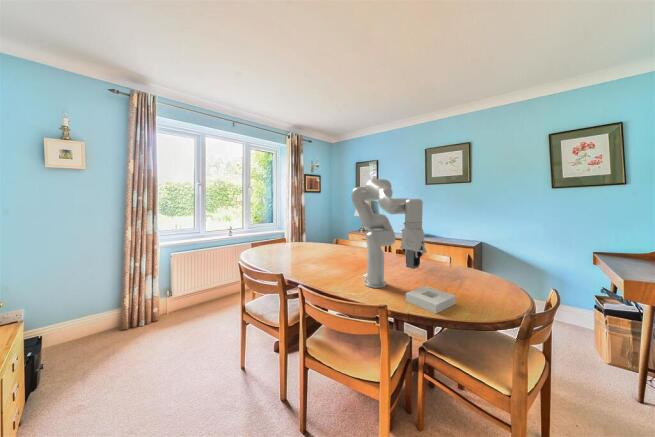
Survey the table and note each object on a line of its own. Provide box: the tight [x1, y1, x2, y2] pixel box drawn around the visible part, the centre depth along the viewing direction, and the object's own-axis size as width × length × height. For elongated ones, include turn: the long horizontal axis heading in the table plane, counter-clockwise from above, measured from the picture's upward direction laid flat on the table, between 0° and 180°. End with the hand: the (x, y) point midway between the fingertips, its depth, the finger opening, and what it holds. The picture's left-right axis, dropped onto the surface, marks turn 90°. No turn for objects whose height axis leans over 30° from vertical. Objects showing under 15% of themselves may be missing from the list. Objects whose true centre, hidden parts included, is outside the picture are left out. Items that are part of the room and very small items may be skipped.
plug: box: [405, 250, 420, 270], centre depth 116 cm, size 4×4×8 cm
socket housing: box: [405, 285, 456, 314], centre depth 120 cm, size 16×16×4 cm
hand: (412, 264), depth 117 cm, fingers closed on plug, 4 cm apart
